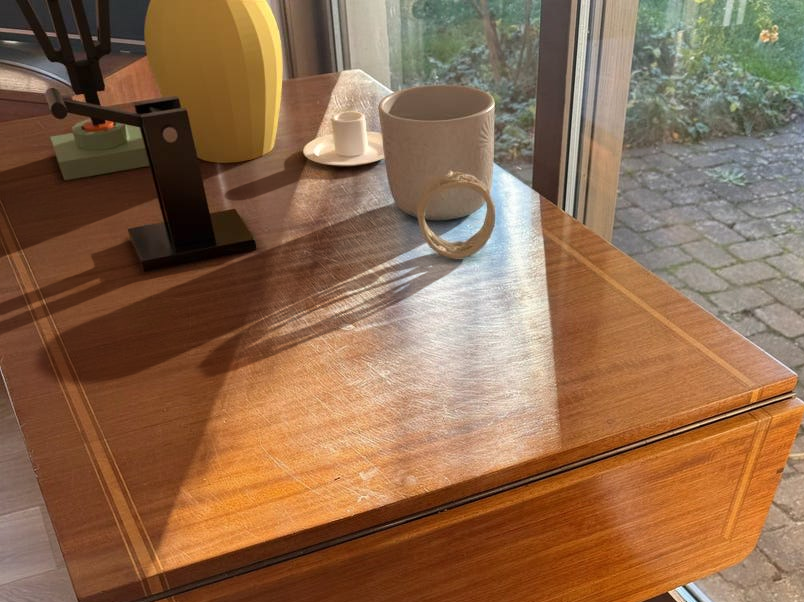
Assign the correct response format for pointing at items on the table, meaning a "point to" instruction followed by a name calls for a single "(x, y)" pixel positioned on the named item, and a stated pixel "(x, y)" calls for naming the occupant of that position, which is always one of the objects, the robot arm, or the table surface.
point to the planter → (437, 145)
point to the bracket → (181, 197)
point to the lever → (91, 110)
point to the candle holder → (346, 143)
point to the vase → (219, 72)
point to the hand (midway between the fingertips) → (98, 120)
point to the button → (98, 126)
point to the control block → (99, 150)
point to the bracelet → (459, 248)
